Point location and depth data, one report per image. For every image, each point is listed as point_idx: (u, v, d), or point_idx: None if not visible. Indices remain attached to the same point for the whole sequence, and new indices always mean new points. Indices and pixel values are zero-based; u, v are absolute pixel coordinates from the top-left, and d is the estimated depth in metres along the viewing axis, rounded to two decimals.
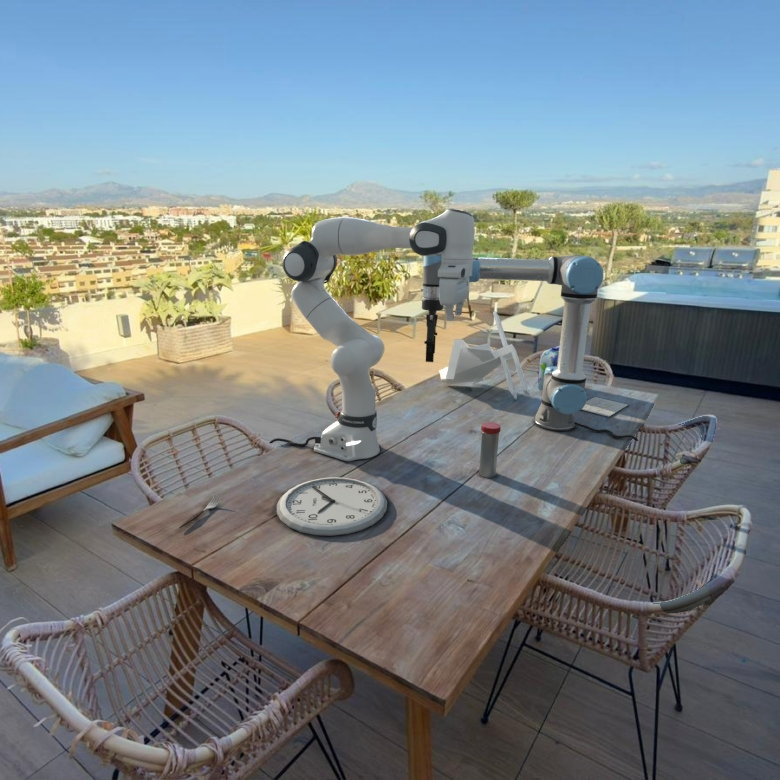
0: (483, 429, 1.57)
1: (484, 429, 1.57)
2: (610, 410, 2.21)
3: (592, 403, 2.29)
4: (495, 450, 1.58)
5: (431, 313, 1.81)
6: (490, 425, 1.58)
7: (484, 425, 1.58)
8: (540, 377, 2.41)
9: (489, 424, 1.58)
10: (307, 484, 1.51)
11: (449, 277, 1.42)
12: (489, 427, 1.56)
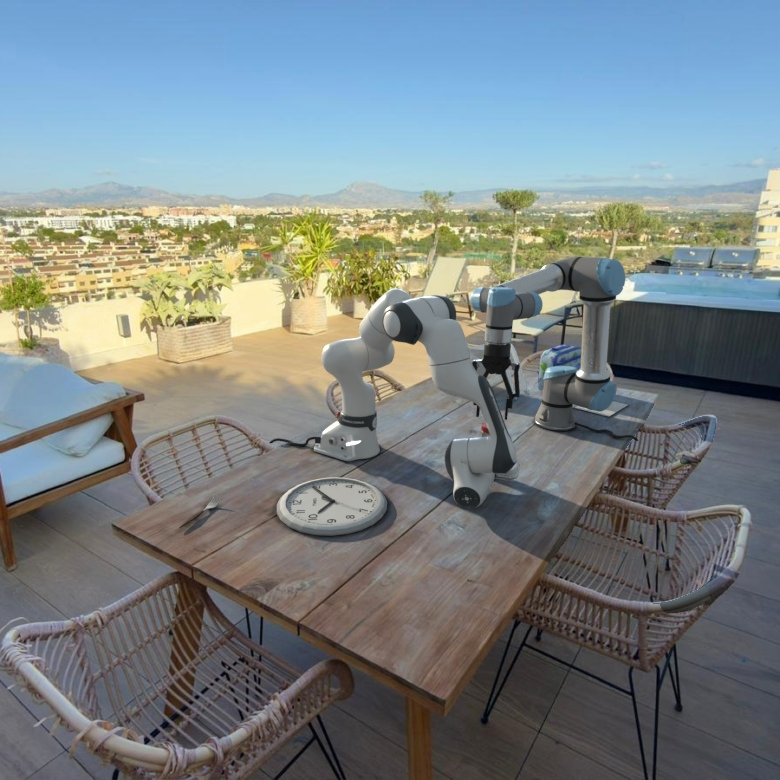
0: (483, 429, 1.57)
1: (484, 429, 1.57)
2: (610, 410, 2.21)
3: None
4: None
5: None
6: None
7: (484, 425, 1.58)
8: (540, 377, 2.41)
9: None
10: (307, 484, 1.51)
11: None
12: None
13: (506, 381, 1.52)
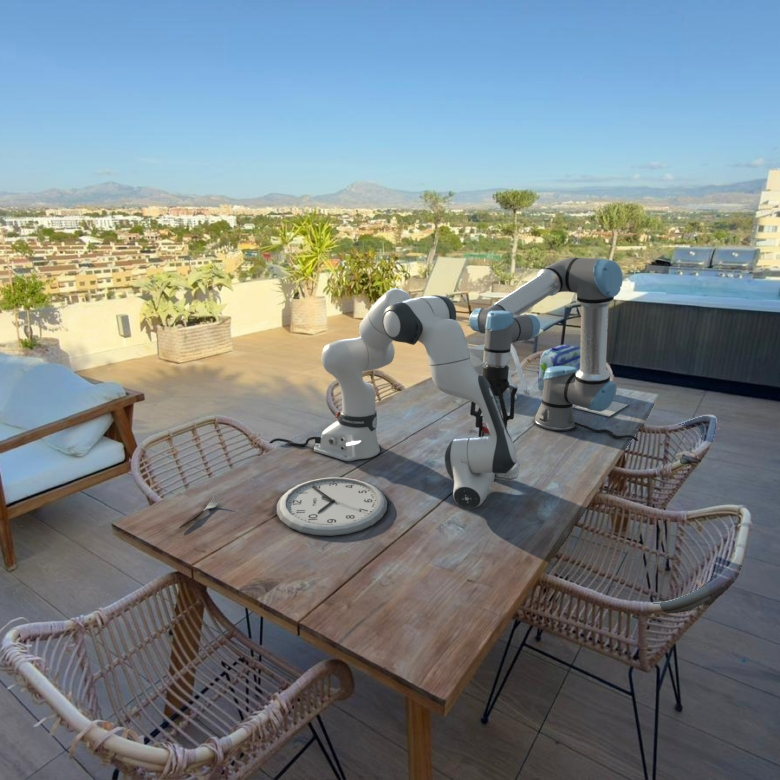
0: (483, 429, 1.57)
1: (484, 429, 1.57)
2: (610, 410, 2.21)
3: None
4: None
5: None
6: None
7: (484, 425, 1.58)
8: (540, 377, 2.41)
9: None
10: (307, 484, 1.51)
11: None
12: None
13: (502, 403, 1.54)
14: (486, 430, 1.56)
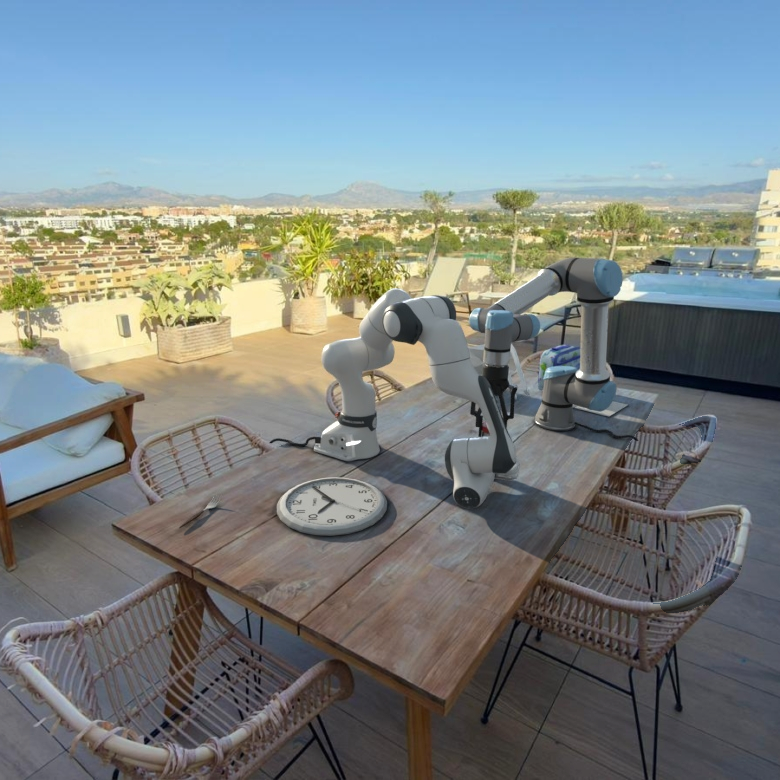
0: None
1: None
2: (610, 410, 2.21)
3: None
4: None
5: None
6: None
7: None
8: (540, 377, 2.41)
9: None
10: (307, 484, 1.51)
11: None
12: None
13: (502, 403, 1.54)
14: None
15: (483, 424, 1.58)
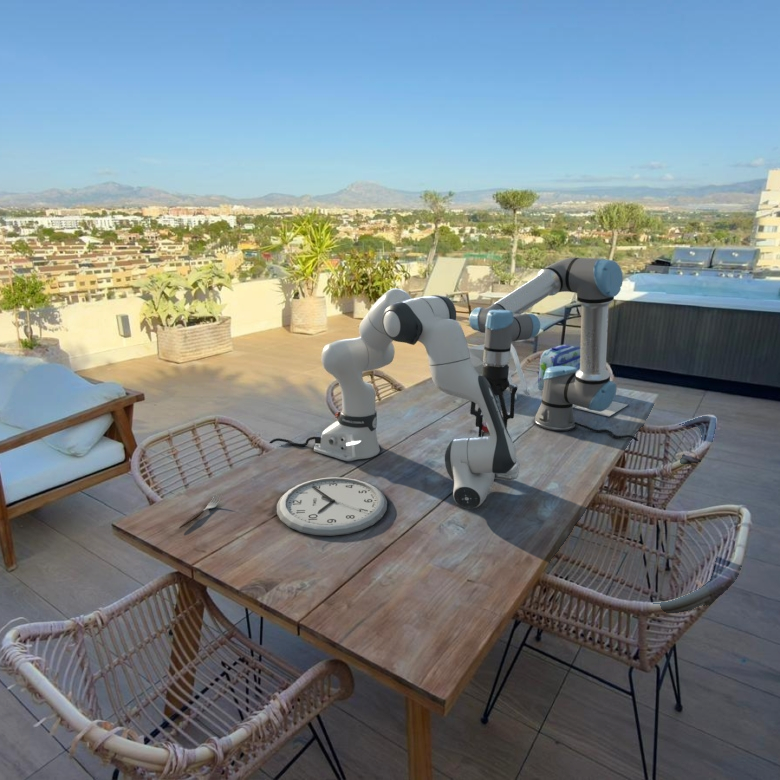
0: None
1: None
2: (610, 410, 2.21)
3: None
4: None
5: None
6: None
7: None
8: (540, 377, 2.41)
9: None
10: (307, 484, 1.51)
11: None
12: None
13: (502, 402, 1.54)
14: None
15: None
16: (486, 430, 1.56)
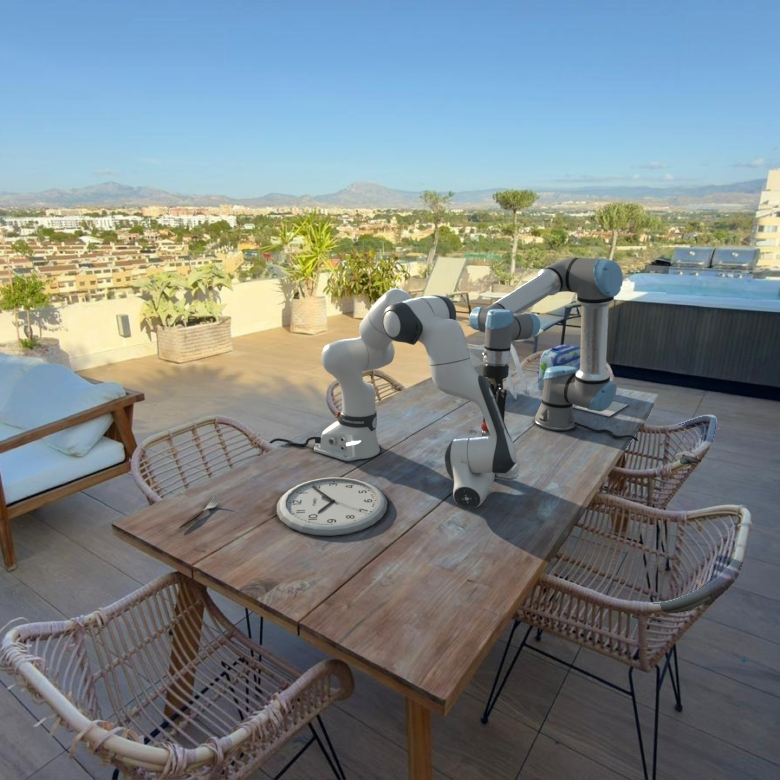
0: (482, 427, 1.58)
1: (483, 427, 1.57)
2: (610, 410, 2.21)
3: None
4: None
5: (499, 382, 1.50)
6: None
7: (484, 423, 1.58)
8: (540, 377, 2.41)
9: None
10: (307, 484, 1.51)
11: None
12: None
13: None
14: (484, 428, 1.57)
15: None
16: None
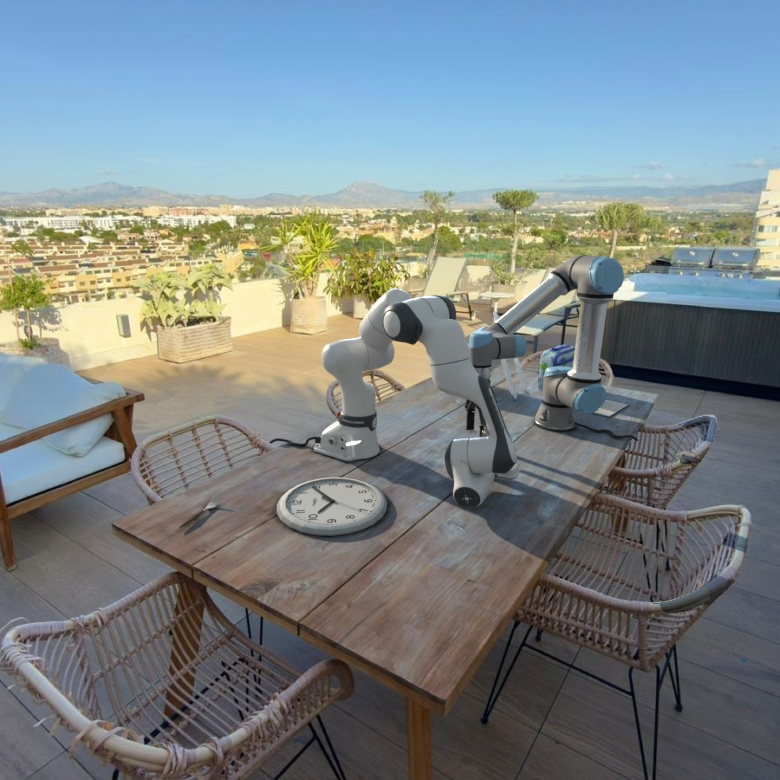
0: None
1: None
2: (610, 410, 2.21)
3: None
4: None
5: None
6: None
7: None
8: (540, 377, 2.41)
9: None
10: (307, 484, 1.51)
11: None
12: None
13: None
14: None
15: None
16: None
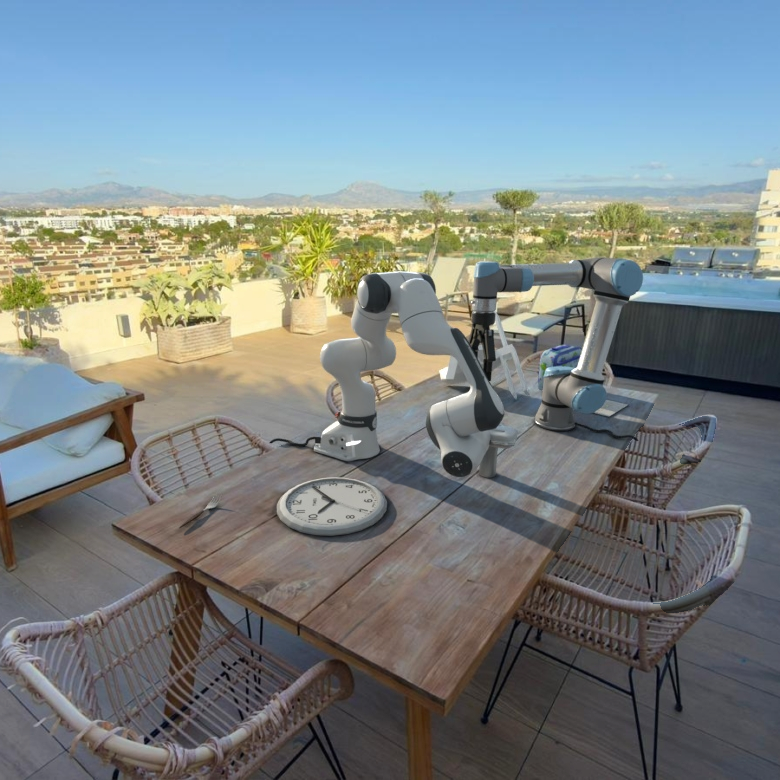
0: None
1: None
2: (610, 410, 2.21)
3: None
4: (495, 450, 1.58)
5: (486, 328, 1.65)
6: None
7: None
8: (540, 377, 2.41)
9: None
10: (307, 484, 1.51)
11: None
12: None
13: None
14: None
15: None
16: None
